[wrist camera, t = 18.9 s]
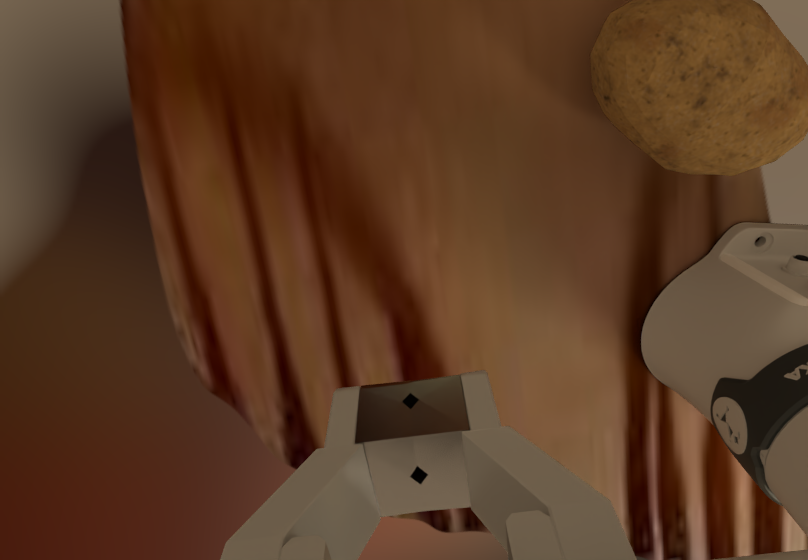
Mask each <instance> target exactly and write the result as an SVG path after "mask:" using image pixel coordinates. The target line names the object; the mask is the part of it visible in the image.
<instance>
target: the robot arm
mask: <svg viewBox="0 0 808 560" xmlns="http://www.w3.org/2000/svg"><path fill="white" fill-rule="evenodd" d="M758 237H760V239H759V241H757V242H756V243H755V240H756V239H757V238H758ZM641 349H642V354H643V358H644V361H645V363H646V365H647V367H648V369H649V370H650V372H651V373H652V374H653V375H654V376H655V377H656V378H657V379H658V380H659V381H660V382H662V383H663V384H665V385H666V386H668V387H669V388H671V389H673V390H674V391H675V392H677V393H678V394H679V395H681V396H682V397H683V398H684V399H686V400H687V401H688V402H689V403H690V404H692V405H693V406H694V407H695V408H696V409H697V410H698V411H700V412H701V413H702V414H703V415H704V416H705V417H706V418H707V419H708V420H709V421H710V422H711V423H712V424H713V425H714V426H715V428H716V430H717V431H718V433H719V435H720V436H721V438H722V439H723V441H724V443H725V444H726V445H727V447H728V448H729V450H730V451H731V453H732V454H733V455H734V457H735V458H736V459H737V460H738V462H739V463H740V464H741V465H742V467H743V468H744V469H745V470H746V472H747V473H748V474H749V475H750V476H751V477H752V479H753V480H754V481H755V482H756V483H757V485H758V486H759V487H760V488H761V489H762V490H763V492H764V493H765V494H766V495H767V496H768V497H769V498H770V499H771V500H773V501H774V502H776V503H778V504H779V505H782V506H784V508H785V509H786V510H787V511H788V513H789V514H790V515H791V516H792V518H793V519H794V520H795V521H796V523H797V524H798V525H799V526H800V528H801V529H802V530H803V531H804V533H805V534H806V535H807V536H808V225H796V224H774V223H752V222H744V223H739V224H736V225H734V226H733V227H731V228H730V229H729V230H728V231H727V232H726V233H725V234H724V235H723V236H722V237H721V238H720V240H719V241H718V242H717V243H716V245H715V246H714V247H713V249H712V250H711V251H710V253H709V254H708V255H707V256H705V257H704V258H703V259H702V260H700V261H699V262H697V263H696V264H694V265H693V266H691V267H690V268H689V269H687V270H686V271H684V272H683V273H682V274H680V275H679V276H678V277H677V278H675V279H674V280H673V281H672V282H671V283H670V284H669V285H668V286H667V287H666V288H665V289H664V290H663V291H662V293H661V294H660V295H659V296H658V298H657V299H656V300H655V302H654V303H653V305H652V307H651V309H650V310H649V312H648V315H647V317H646V319H645V322H644V326H643V330H642V336H641ZM465 507H471V509H472V511H473V512H474V513H475V514H476V515H477V516H478V518H479V519H480V520H481V521H482V522H483V524H484V525H485V526H486V527H487V528H488V529H489V531H490V532H491V533H492V534H493V535H494V536H495V538H496V539H497V540H498V541H499V542H500V544H501V545H502V546H503V547H504V548H505V550H506V551H507V552H508V560H637V559H636V557H635V555H634V553H633V550H632V548H631V546H630V544H629V541H628V539H627V537H626V535H625V533H624V530H623V528H622V526H621V524H620V521H619V519H618V517H617V515H616V512H615V510H614V508H613V506H612V504H611V501H610V500H609V499H607V498H606V497H605V496H603V495H602V494H601V493H599V492H598V491H596V490H595V489H594V488H592V487H591V486H590V485H588V484H587V483H586V482H584V481H583V480H582V479H580V478H579V477H578V476H576V475H575V474H573V473H572V472H571V471H569V470H568V469H567V468H565V467H564V466H563V465H561V464H560V463H559V462H557V461H556V460H555V459H553V458H552V457H550V456H549V455H548V454H546V453H545V452H544V451H542V450H541V449H540V448H538V447H537V446H536V445H534V444H533V443H532V442H530V441H529V440H527V439H526V438H525V437H523V436H522V435H521V434H519V433H518V432H517V431H515V430H514V429H513V428H511V427H510V426H505V427H501V423H500V419H499V416H498V412H497V408H496V404H495V401H494V397H493V393H492V389H491V385H490V382H489V378H488V374H487V372H486V371H485V370H481V371H475V372H468V373H462V374H460V375H453V376H446V377H438V378H430V379H423V380H415V381H403V382H393V383H383V384H374V385H364V386H361V387H360V386H356V387H348V388H339V389H336V390H335V392H334V393H333V399H332V405H331V410H330V416H329V422H328V428H327V434H326V440H325V446H324V448H321V449H316V450H315V451H314V452H313V453H312V454H311V456H310V457H309V458H308V459H307V460H306V461H305V462H304V463H303V464H302V465H301V466H300V467H299V468H298V469H297V470H296V471H295V472H294V473H293V474H292V475H291V476H290V477H289V478H288V479H287V480H286V481H285V482H284V483H283V484H282V485H281V487H279V489H278V490H277V491H276V492H275V493H274V494H273V495H272V496H271V497H270V498H269V499H268V500H267V501H266V502H265V503H264V504H263V505H262V506H261V507H260V508H259V509H258V510H257V511H256V512H255V513H254V514H253V515H252V516H251V517H250V518H249V520H248V521H247V522H246V523H245V524H244V525H243V526H242V527H241V528H240V529H239V530H238V531H237V532H236V533H235V534H234V535H233V536H232V537H231V538H230V539H229V540H228V541H227V542H226V544H225V547H224V550H223V554H222V556H221V560H357V559H358V557H359V556H360V554H361V552H362V551H363V549H364V547H365V546H366V544H367V542H368V541H369V539H370V537H371V535H372V534H373V532H374V530H375V529H376V527H377V525H378V524H379V522H380V517H385V516H392V515H399V514H406V513H413V512H420V511H425V510H426V511H429V510H441V509H453V508H465ZM714 560H808V550H799V551H790V552H780V553H771V554H761V555H752V556H742V557H733V558H723V559H714Z"/></svg>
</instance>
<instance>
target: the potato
mask: <svg viewBox="0 0 808 560" xmlns="http://www.w3.org/2000/svg"><path fill="white" fill-rule="evenodd" d="M590 65H591V79H592V90H593V92H594V94H595V96H596V98H597V101H598V103H599V105H600V107H601V109H602V111H603V113H604V114H605V115H606V117H607V118H608V119H609V120H610V121H611V122H612V123H613V124H614V125H615V126H616V128H617V129H618V130H619V131H620V132H622V133H623V134H624V135H625V136H626V137H627V138H628V139H630V140H631V141H632V142H633V143H634V144H635V145H637V146H638V147H639V148H640V149H641V150H643V151H644V152H645V153H646V154H647V155H649V156H650V157H651V158H652V159H654V160H655V161H656V162H657V163H659V164H660V165H661V166H662V167H663V168H665V169H667V170H672V171H677V172H682V173H686V174H710V175H727V176H734V175H737V174H739V173H742V172H745V171H748V170H750V169H753V168H756V167H759V166H762V165H765V164H768V163H771V162H774V161H776V160H777V159H778V158H779V157H781V156H782V155H784V154H785V153H786V152H787V151H789V150H790V149H792V148H793V147H794V146H796V145H797V144H798V143H799V142H801V141H802V140H803V139H804V137H805V136H806V134H807V132H808V65H807V64H806V62H805V61H804V59H803V58H802V56H801V55H800V54H799V52H798V51H797V50H796V49H795V48H794V47H793V45H792V44H791V43H790V42H789V40H788V39H787V38H786V37H785V36H784V35H783V33H782V32H781V31H780V30H779V28H778V27H777V25H776V24H775V23H774V21H773V20H772V19H771V17H770V16H769V15H768V13H767V12H766V11H765V10H764V9H763V7H762V6H761V5H760V4H758V3H756V2H755V1H753V0H632V1H630V2H628V3H627V4H625V5H623V6H622V7H620V8H618V9H616V10H615V11H613V12H611V13H610V15H609V16H608V18H607V19H606V21H605V22H604V24H603V26H602V28H601V31H600V33H599V35H598V37H597V40H596V42H595V44H594V46H593V48H592V51H591V53H590Z"/></svg>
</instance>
